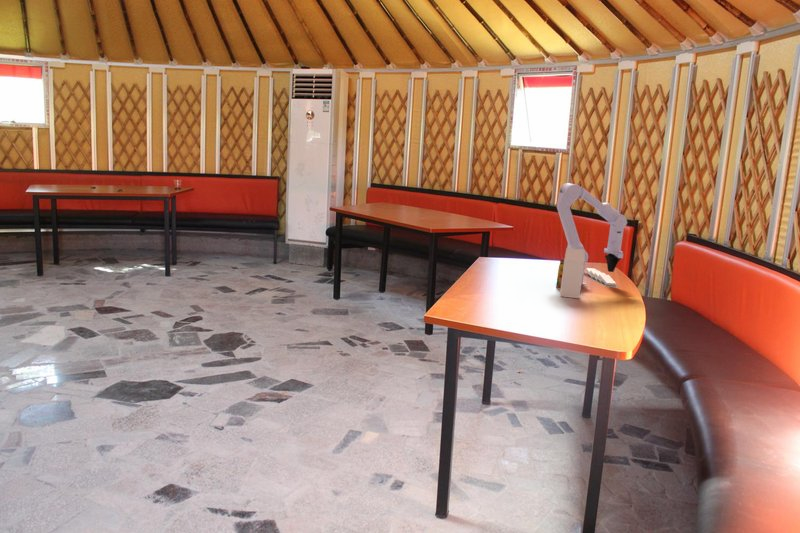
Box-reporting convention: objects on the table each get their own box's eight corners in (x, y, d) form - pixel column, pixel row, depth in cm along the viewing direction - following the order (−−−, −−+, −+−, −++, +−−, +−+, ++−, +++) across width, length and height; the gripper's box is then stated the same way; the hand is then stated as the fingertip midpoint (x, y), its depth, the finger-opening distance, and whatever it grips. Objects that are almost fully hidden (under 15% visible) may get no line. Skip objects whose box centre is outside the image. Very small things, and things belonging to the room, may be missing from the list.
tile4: (601, 276, 294) (595, 268, 302) (592, 275, 294) (586, 268, 301) (601, 278, 295) (594, 270, 302) (592, 278, 294) (585, 270, 302)
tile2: (611, 281, 285) (603, 272, 292) (602, 280, 284) (594, 272, 292) (610, 283, 285) (603, 275, 293) (601, 282, 285) (594, 274, 292)
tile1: (616, 283, 280) (608, 274, 288) (606, 282, 279) (599, 274, 287) (615, 285, 281) (607, 277, 288) (606, 285, 280) (598, 276, 288)
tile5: (597, 273, 299) (589, 271, 308) (588, 273, 299) (580, 271, 307) (596, 276, 300) (589, 274, 308) (587, 275, 299) (580, 273, 307)
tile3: (606, 278, 289) (599, 270, 297) (597, 278, 289) (590, 270, 297) (605, 281, 290) (598, 272, 298) (596, 280, 289) (589, 272, 297)
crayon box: (555, 287, 269) (559, 260, 266) (556, 286, 271) (559, 259, 269) (573, 290, 267) (577, 262, 264) (574, 288, 269) (577, 261, 267)
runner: (620, 288, 278) (620, 287, 278) (606, 287, 277) (606, 286, 277) (597, 277, 301) (597, 276, 301) (584, 276, 300) (584, 275, 300)
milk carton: (579, 298, 250) (585, 251, 247) (560, 296, 252) (566, 249, 248) (578, 295, 257) (584, 248, 254) (560, 293, 258) (565, 246, 255)
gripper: (631, 244, 272) (627, 275, 275) (616, 239, 286) (611, 268, 289) (616, 243, 271) (611, 274, 274) (601, 238, 285) (597, 267, 288)
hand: (610, 271), depth 281 cm, fingers closed
